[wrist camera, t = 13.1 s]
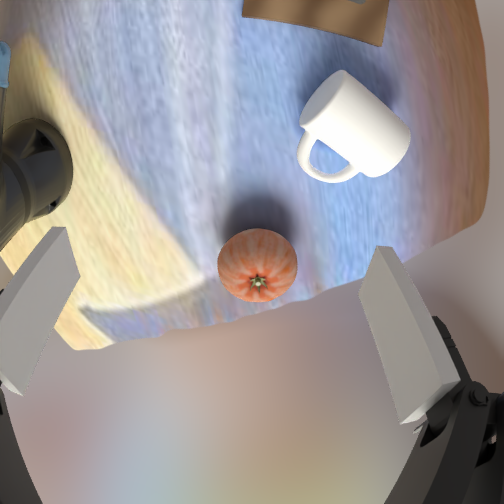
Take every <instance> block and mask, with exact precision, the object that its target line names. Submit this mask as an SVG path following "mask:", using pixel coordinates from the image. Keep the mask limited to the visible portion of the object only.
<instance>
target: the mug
mask: <svg viewBox="0 0 504 504" xmlns="http://www.w3.org/2000/svg"><path fill="white" fill-rule="evenodd" d="M299 124H300V126H301V127H302V128H304V129H305V132H304V134H303V136H302V137H301V139H300V142H299V144H298V148H297V159H298V162H299V164H300V166H301V167H302V169H303V170H304V171H305V172H306V173H307V174H309V175H310V176H312V177H314V178H316V179H318V180H320V181H324V182H330V183H337V182H343V181H346V180H348V179H350V178H352V177H353V176H355V175H356V174H357V173H358V172H360V171H361V172H362V173H364V174H365V175H366V176H369V177H377V176H380V175H383V174H385V173H387V172H388V171H390V170H391V169H392V168H393V167H395V166H396V165H397V164H398V163H399V161H400V160H401V159H402V157H403V156H404V154H405V153H406V151H407V149H408V146H409V143H410V137H411V135H410V130H409V128H408V127H407V125H406V124H405V123H404V122H403V121H402V120H401V119H400V118H399V117H398V116H396V115H395V114H394V113H393V112H392V111H391V110H390V109H389V108H388V107H387V106H386V105H385V104H384V103H383V102H382V101H380V100H379V99H378V98H377V97H376V96H375V95H374V94H373V93H372V92H370V91H369V90H368V89H367V88H366V87H365V86H363V85H362V84H361V83H360V82H359V81H357V80H356V79H355V78H354V77H353V76H351V75H350V74H349V73H348V72H346V71H345V70H339V71H336V72H335V73H333V74H332V75H330V76H329V77H328V78H327V79H326V80H325V81H324V82H323V83H322V84H321V85H320V86H319V87H318V88H317V89H316V90H315V92H314V93H313V94H312V96H311V97H310V99H309V100H308V102H307V103H306V105H305V107H304V109H303V111H302V113H301V115H300V119H299ZM317 139H319V140H321V141H322V142H324V143H325V144H326V145H328V146H329V147H330V148H332V149H333V150H334V151H336V152H337V153H338V154H340V155H341V156H342V157H344V158H345V159H346V160H347V161H349V164H348V165H347V166H346V167H345V168H344V169H342V170H341V171H339V172H337V173H334V174H327V173H324V172H321V171H319V170H317V169H316V168H314V167H313V166H312V165H311V164H310V161H309V155H310V151H311V148H312V146H313V144H314V143H315V141H316V140H317Z"/></svg>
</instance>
